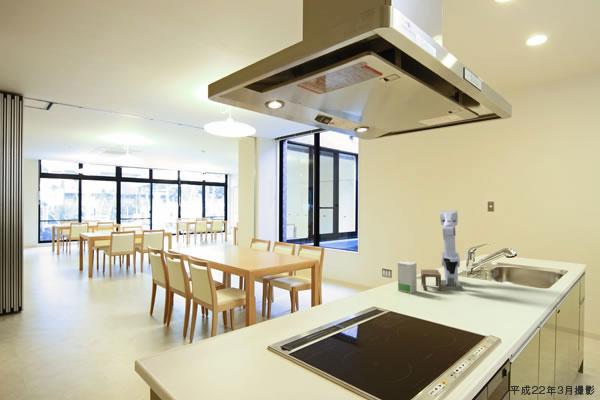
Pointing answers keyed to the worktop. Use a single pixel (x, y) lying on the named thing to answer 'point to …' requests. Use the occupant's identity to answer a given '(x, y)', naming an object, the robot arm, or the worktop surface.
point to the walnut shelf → (430, 274)
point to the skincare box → (407, 277)
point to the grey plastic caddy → (450, 284)
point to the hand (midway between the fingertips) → (450, 272)
